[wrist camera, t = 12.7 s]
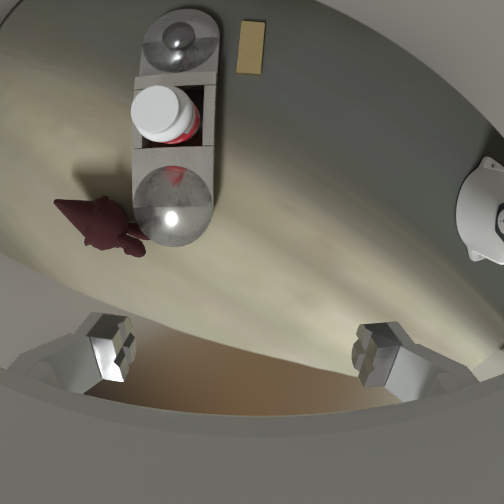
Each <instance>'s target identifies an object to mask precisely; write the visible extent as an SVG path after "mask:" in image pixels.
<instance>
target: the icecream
mask: <svg viewBox="0 0 504 504" xmlns="http://www.w3.org/2000/svg"><path fill="white" fill-rule="evenodd" d="M54 204H55V205H56V206H57V208H58V209H59V210H60V211H61V212H62V213H63V214H64V215H65V216H66V217H67V219H68V220H69V221H70V222H71V223H72V224H73V225H74V226H75V227H76V228H77V229H78V230H79V231H80V232H81V233H82V235H83V236H84V237H85V241H84V243H85V246H87V245H90V244H91V245H92V246H93V247H95V248H98V249H100V250H105V249H111V248H114V247H116V248H119V247H121V248H123V249H124V252H125V254H128V255H132V256H134V257H142V256H144V255H145V253H146V250H145V247H144V245H143V243H142V241H140V240H139V239H143V240H150V239H149V238H148V237H147V236H146V235H145V234H144V233H143V232H142V231H141V229H140V228H139V226H138V224H137V223H128V218H127V216H126V213H125V211H124V210H123V208H122V207H121V206H120V205H119V204H118V203H116V202H114V201H113V200H109V199H108V196H105V195H104V196H102V197H101V198H98V199H96V200H95V201H83V200H63V199H55V200H54ZM127 233H128V234H129V235H131V236H134V237H136V238H134V237H131V236H129V235H126V234H127ZM137 238H139V239H137Z"/></svg>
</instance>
